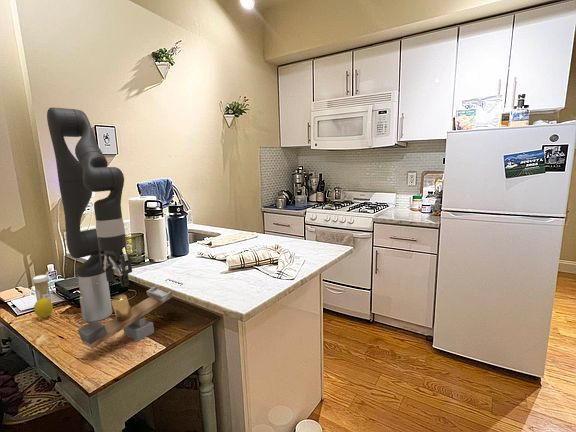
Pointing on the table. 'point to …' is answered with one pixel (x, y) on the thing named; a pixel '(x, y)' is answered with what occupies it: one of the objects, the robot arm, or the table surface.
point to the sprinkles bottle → (41, 287)
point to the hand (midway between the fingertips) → (117, 283)
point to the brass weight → (121, 308)
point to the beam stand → (139, 329)
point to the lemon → (43, 307)
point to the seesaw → (99, 332)
